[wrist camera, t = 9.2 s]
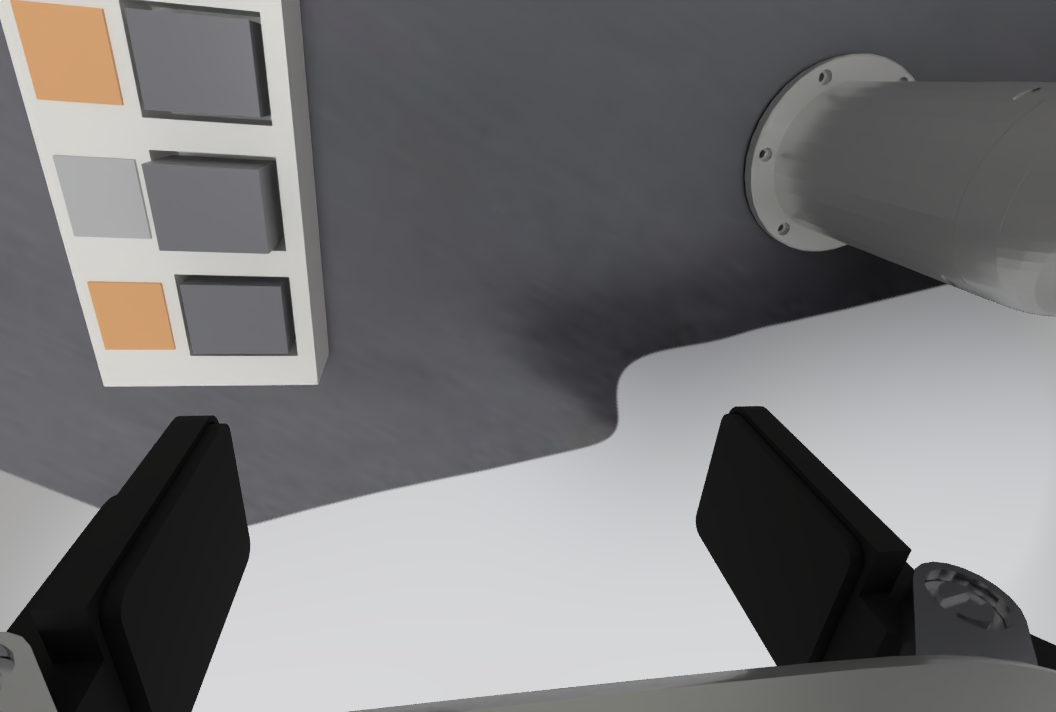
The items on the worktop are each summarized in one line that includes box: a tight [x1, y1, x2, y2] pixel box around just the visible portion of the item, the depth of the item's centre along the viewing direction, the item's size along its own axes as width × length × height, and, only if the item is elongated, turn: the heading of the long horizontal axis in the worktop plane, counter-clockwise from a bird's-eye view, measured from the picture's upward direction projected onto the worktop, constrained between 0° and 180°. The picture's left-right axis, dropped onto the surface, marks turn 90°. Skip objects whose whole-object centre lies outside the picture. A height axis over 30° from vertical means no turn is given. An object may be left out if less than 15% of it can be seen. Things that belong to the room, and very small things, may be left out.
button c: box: [180, 275, 296, 354], centre depth 34 cm, size 5×4×4 cm
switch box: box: [0, 0, 329, 387], centre depth 31 cm, size 12×22×5 cm, turn 176°
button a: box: [125, 8, 271, 118], centre depth 28 cm, size 5×4×4 cm
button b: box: [141, 155, 284, 254], centre depth 30 cm, size 5×4×4 cm
